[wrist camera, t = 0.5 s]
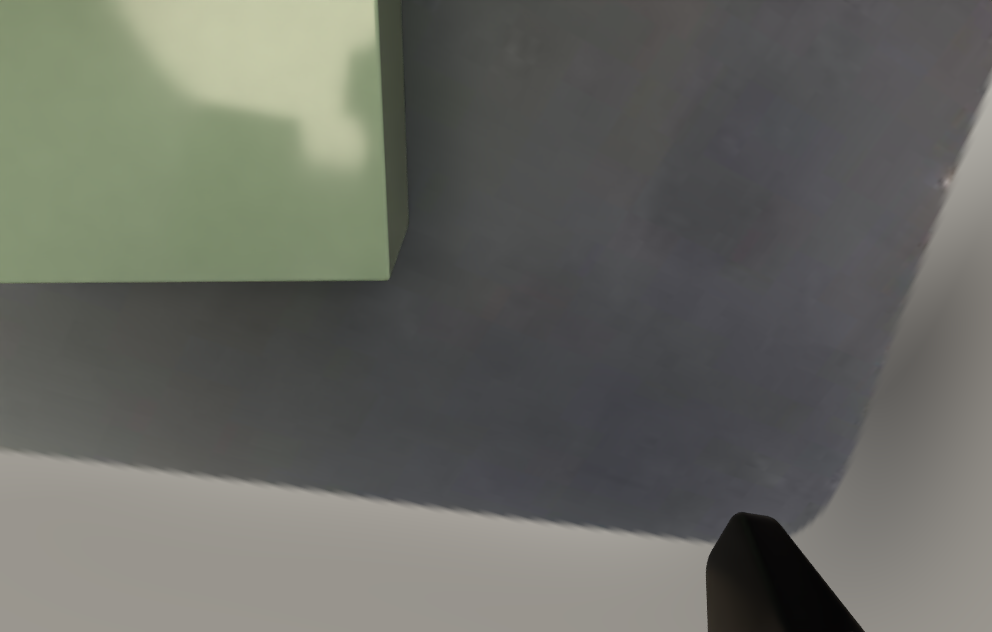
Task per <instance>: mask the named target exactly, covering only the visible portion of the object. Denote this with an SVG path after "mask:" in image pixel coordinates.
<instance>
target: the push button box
mask: <svg viewBox="0 0 992 632" xmlns="http://www.w3.org/2000/svg"><path fill="white" fill-rule="evenodd" d="M408 225H409V210H408V182H407V154H406V126H405V97H404V69H403V41H402V13H401V0H0V283H136V282H274V281H387V280H389V279H390V276H391V273H392V270H393V268H394V265H395V262H396V259H397V256H398V253H399V251H400V248H401V245H402V242H403V239H404V236H405V234H406V231H407V228H408Z"/></svg>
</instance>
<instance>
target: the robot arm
mask: <svg viewBox="0 0 992 632" xmlns="http://www.w3.org/2000/svg"><path fill="white" fill-rule="evenodd" d="M706 591H707V616H708V617H707V618H708V632H865V631H864V630H863V629H862V628H861V626H860V625H859V624H858V623H857V621H856V620H855V619H854V618H853V616H852V615H851V614H850V612H849V611H848V610H847V609H846V607H845V606H844V605H843V604H842V602H841V601H840V600H839V599H838V597H837V596H836V595H835V593H834V592H833V591H832V590H831V588H830V587H829V586H828V585H827V583H826V582H825V581H824V579H823V578H822V577H821V576H820V574H819V573H818V572H817V571H816V569H815V568H814V567H813V566H812V564H811V563H810V562H809V560H808V559H807V558H806V557H805V555H804V554H803V553H802V552H801V550H800V549H799V548H798V547H797V545H796V544H795V543H794V541H793V540H792V539H791V538H790V536H789V535H788V534H787V533H786V531H785V530H784V529H783V528H782V526H781V525H780V524H779V523H778V522H777V521H776V520H775V519H773V518H771V517H769V516H764V515H758V514H751V513H745V512H739V513H737V514H735V515H734V516H733V517H732V518H731V519H730V521H729V523H728V524H727V526H726V528H725V529H724V531H723V533H722V534H721V536H720V538H719V539H718V541H717V543H716V544H715V546H714V548H713V549H712V551H711V553H710V555H709V558H708V562H707V567H706Z"/></svg>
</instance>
